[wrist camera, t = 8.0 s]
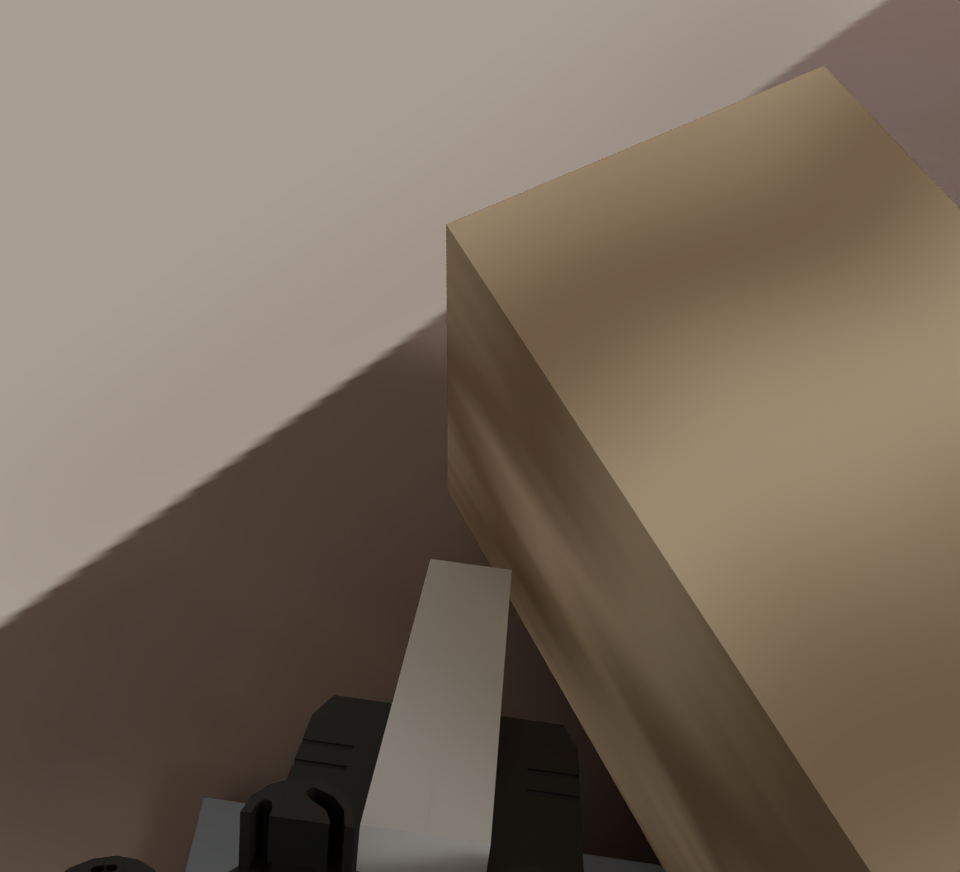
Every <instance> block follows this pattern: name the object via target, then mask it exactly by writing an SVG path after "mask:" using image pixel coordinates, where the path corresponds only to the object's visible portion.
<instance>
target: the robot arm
mask: <svg viewBox="0 0 960 872" xmlns="http://www.w3.org/2000/svg"><path fill="white" fill-rule="evenodd" d="M511 572H512V570H509V569H502V568H494V567H487V566H480V565H472V564H465V563H458V562H450V561H443V560H436V559H430V562H429V566H428V570H427V574H426V578H425V581H424V585H423V589H422V593H421V596H420V600H419V604H418V608H417V612H416V615H415V619H414V623H413V627H412V630H411V634H410V638H409V642H408V646H407V649H406V653H405V657H404V661H403V664H402V668H401V672H400V676H399V680H398V683H397V687H396V691H395V695H394V698H393V702H392V703H385V702H378V701H371V700H364V699H357V698H350V697H342V696H335V695H334V696H333V697H332V698H331V699H329V700H328V701H327V702H326V703H325V704H324V705H323V706H322V707H320V708H319V709H318V710H317V711H316V712H315V713H314V714H312V717H311V719H310V722H309V725H308V727H307V730H306V732H305V735H304V737H303V741H302V744H301V745H300V747H299V750H298V752H297V755H296V757H295V762H294V764H293V765H292V768H291V770H290V773H289V775H288V778H287V780H286V781H282V782H279V783H275V784H271V785H268V786H267V787H265V788H264V789H262V790H261V791H259V792H257V793H256V794H254V795H253V796H251V798H250V799H249V800H248V802H247V803H246V804H245V806H244V807H243V808H242V810H241V811H240V834H239V865H238V866H237V867H236V868H234V869H233V870H230V871H228V872H584V866H583V846H582V826H581V806H580V786H579V766H578V749H577V748H576V746H575V744H574V743H573V741H572V739H571V738H570V736H569V734H568V733H567V731H566V729H565V728H564V726H563V725H559V724H551V723H544V722H537V721H530V720H523V719H516V718H509V717H501V703H502V690H503V677H504V664H505V651H506V638H507V625H508V611H509V598H510V585H511ZM65 872H155V870H154V869H152V868H151V867H149V866H148V865H146V864H144V863H143V862H141V861H140V860H137V859H132V858H126V857H121V856H111V857H103V858H95V859H91V860H89V861H86V862H84V863H81V864H79V865H76V866H74V867H71V868H69V869H68V870H66V871H65Z"/></svg>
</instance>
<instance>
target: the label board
mask: <svg viewBox="0 0 960 872" xmlns="http://www.w3.org/2000/svg"><path fill="white" fill-rule="evenodd" d="M245 804H246V803H241V802H235V801H228V800H221V799H214V798H208V797H204V798H203V802H202V806H201V810H200V814H199V818H198V822H197V826H196V830H195V834H194V838H193V842H192V846H191V850H190V854H189V858H188V862H187V866H186V870H185V872H228V871H230V870H233V869H234V868H236V867H237V866H238V865H239V834H240V811H241V810H242V808H243V807H244V806H245ZM583 866H584V872H665V870H664V868H663V866H662V865H655V864H648V863H642V862H635V861H628V860H622V859H615V858H608V857H602V856H595V855H588V854H583Z"/></svg>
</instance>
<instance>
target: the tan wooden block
mask: <svg viewBox="0 0 960 872" xmlns="http://www.w3.org/2000/svg"><path fill="white" fill-rule="evenodd" d="M446 229H447V230H446V239H447V240H446V243H447V247H446V248H447V445H448V492H449V494H450V495H451V497H452V499H453V501H454V502H455V504H456V506H457V508H458V509H459V511H460V513H461V515H462V516H463V518H464V520H465V522H466V523H467V525H468V527H469V529H470V530H471V532H472V534H473V536H474V537H475V539H476V541H477V543H478V544H479V546H480V548H481V550H482V551H483V553H484V555H485V557H486V558H487V560H488V562H489V564H490V565H491V567H494V568H502V569H509V570H512V572H511V585H510V598H509V599H510V600H511V602H512V604H513V606H514V607H515V609H516V611H517V613H518V614H519V616H520V618H521V620H522V621H523V623H524V625H525V627H526V628H527V630H528V632H529V634H530V635H531V637H532V639H533V641H534V642H535V644H536V646H537V648H538V649H539V651H540V653H541V655H542V656H543V658H544V660H545V662H546V663H547V665H548V667H549V669H550V670H551V672H552V674H553V676H554V677H555V679H556V681H557V683H558V684H559V686H560V688H561V690H562V691H563V693H564V695H565V697H566V698H567V700H568V702H569V704H570V705H571V707H572V709H573V711H574V712H575V714H576V716H577V718H578V719H579V721H580V723H581V725H582V726H583V728H584V730H585V732H586V733H587V735H588V737H589V739H590V740H591V742H592V744H593V746H594V747H595V749H596V751H597V753H598V754H599V756H600V758H601V760H602V761H603V763H604V765H605V767H606V768H607V770H608V772H609V774H610V775H611V777H612V779H613V781H614V782H615V784H616V786H617V788H618V789H619V791H620V793H621V795H622V796H623V798H624V800H625V802H626V803H627V805H628V807H629V809H630V810H631V812H632V814H633V816H634V817H635V819H636V821H637V823H638V824H639V826H640V828H641V830H642V831H643V833H644V835H645V837H646V838H647V840H648V842H649V844H650V845H651V847H652V849H653V851H654V852H655V854H656V856H657V858H658V859H659V861H660V863H661V865H662V866H663V868H664V870H665V872H960V208H959V207H958V206H957V205H956V204H955V203H954V202H953V201H952V200H951V199H950V198H949V197H948V196H947V194H946V193H945V192H944V191H943V190H942V189H941V188H940V187H939V186H938V185H937V184H936V183H935V182H934V181H933V180H932V179H931V178H930V177H929V176H928V174H927V173H926V172H925V171H924V170H923V169H922V168H921V167H920V166H919V165H918V164H917V163H916V162H915V161H914V160H913V159H912V158H911V157H910V156H909V155H908V153H907V152H906V151H905V150H904V149H903V148H902V147H901V146H900V145H899V144H898V143H897V142H896V141H895V140H894V139H893V138H892V137H891V136H890V135H889V133H888V132H887V131H886V130H885V129H884V128H883V127H882V126H881V125H880V124H879V123H878V122H877V121H876V120H875V119H874V118H873V117H872V116H871V115H870V113H869V112H868V111H867V110H866V109H865V108H864V107H863V106H862V105H861V104H860V103H859V102H858V101H857V100H856V99H855V98H854V97H853V96H852V95H851V93H850V92H849V91H848V90H847V89H846V88H845V87H844V86H843V85H842V84H841V83H840V82H839V81H838V80H837V79H836V78H835V77H834V76H833V75H832V73H831V72H830V71H829V70H828V69H827V68H826V67H825V66H823V67H820V68H818V69H816V70H813V71H811V72H808V73H806V74H804V75H801V76H799V77H796V78H794V79H792V80H789V81H787V82H785V83H782V84H780V85H777V86H775V87H773V88H770V89H768V90H765V91H763V92H761V93H758V94H756V95H754V96H751V97H749V98H746V99H744V100H742V101H739V102H737V103H735V104H732V105H730V106H727V107H725V108H723V109H721V110H718V111H715V112H713V113H711V114H708V115H706V116H704V117H701V118H699V119H696V120H694V121H692V122H689V123H687V124H685V125H682V126H680V127H678V128H675V129H673V130H670V131H668V132H665V133H663V134H661V135H658V136H656V137H654V138H651V139H649V140H646V141H644V142H642V143H639V144H637V145H634V146H632V147H630V148H627V149H625V150H623V151H620V152H618V153H615V154H613V155H611V156H608V157H606V158H604V159H601V160H599V161H597V162H594V163H592V164H589V165H587V166H585V167H582V168H580V169H578V170H575V171H573V172H570V173H568V174H566V175H563V176H561V177H558V178H556V179H554V180H551V181H549V182H546V183H544V184H542V185H539V186H537V187H535V188H532V189H530V190H527V191H525V192H523V193H520V194H518V195H515V196H513V197H511V198H508V199H506V200H503V201H501V202H499V203H496V204H494V205H492V206H489V207H487V208H484V209H482V210H480V211H478V212H475V213H473V214H471V215H468V216H466V217H463V218H461V219H458V220H456V221H454V222H452V223H449V224H447V225H446Z"/></svg>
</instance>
